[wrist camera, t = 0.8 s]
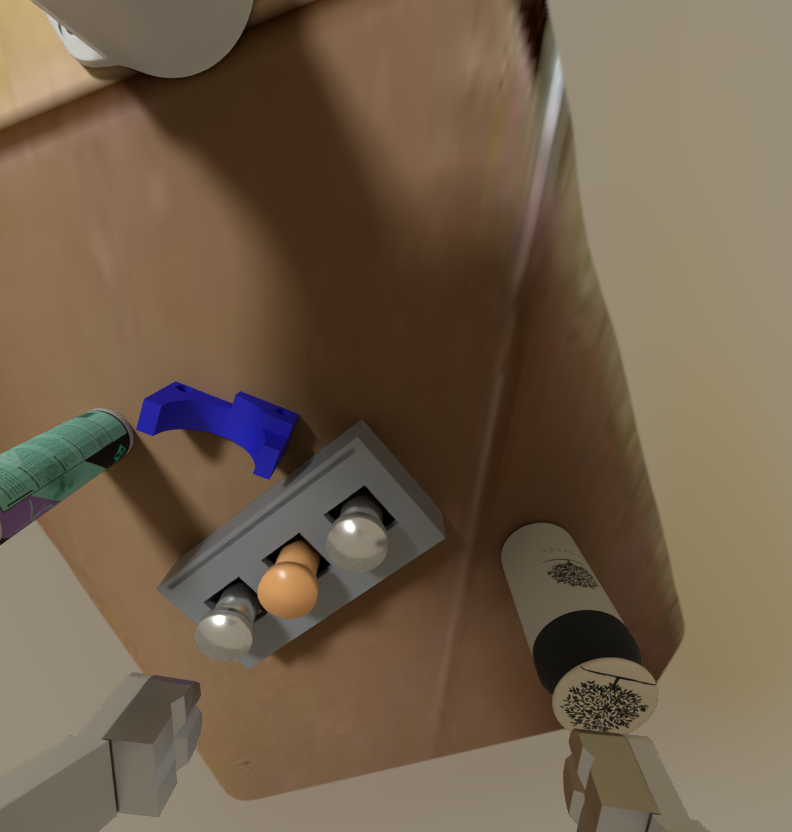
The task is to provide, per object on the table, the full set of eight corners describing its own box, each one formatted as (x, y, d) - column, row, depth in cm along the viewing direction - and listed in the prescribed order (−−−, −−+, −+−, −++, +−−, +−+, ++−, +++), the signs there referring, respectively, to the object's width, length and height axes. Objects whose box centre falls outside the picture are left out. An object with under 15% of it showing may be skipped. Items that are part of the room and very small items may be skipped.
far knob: (207, 591, 49) (182, 635, 43) (243, 565, 48) (222, 606, 42) (243, 623, 50) (223, 670, 44) (279, 598, 49) (263, 643, 43)
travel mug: (551, 593, 52) (624, 755, 35) (487, 569, 52) (530, 723, 34) (588, 536, 50) (685, 680, 33) (521, 510, 49) (586, 644, 32)
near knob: (324, 506, 45) (313, 542, 40) (365, 475, 44) (360, 508, 39) (359, 542, 47) (353, 582, 41) (400, 514, 46) (400, 551, 40)
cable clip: (299, 414, 46) (285, 436, 41) (284, 453, 48) (269, 479, 42) (180, 366, 45) (148, 382, 39) (168, 408, 46) (136, 429, 41)
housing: (178, 558, 51) (156, 588, 47) (361, 418, 46) (357, 436, 41) (261, 633, 55) (248, 669, 50) (441, 510, 49) (445, 537, 44)
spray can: (67, 432, 47) (-159, 551, 28) (100, 396, 46) (-114, 495, 27) (112, 469, 48) (-76, 607, 29) (145, 435, 47) (-29, 556, 28)
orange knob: (264, 550, 47) (245, 590, 41) (302, 522, 46) (288, 559, 40) (299, 584, 48) (285, 628, 43) (337, 557, 47) (328, 599, 42)
